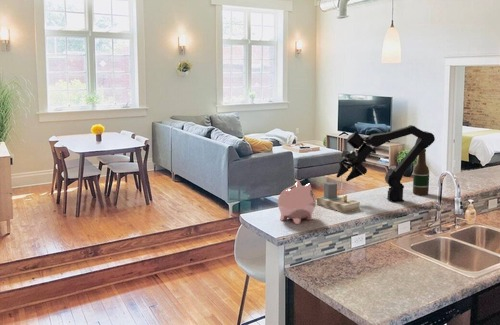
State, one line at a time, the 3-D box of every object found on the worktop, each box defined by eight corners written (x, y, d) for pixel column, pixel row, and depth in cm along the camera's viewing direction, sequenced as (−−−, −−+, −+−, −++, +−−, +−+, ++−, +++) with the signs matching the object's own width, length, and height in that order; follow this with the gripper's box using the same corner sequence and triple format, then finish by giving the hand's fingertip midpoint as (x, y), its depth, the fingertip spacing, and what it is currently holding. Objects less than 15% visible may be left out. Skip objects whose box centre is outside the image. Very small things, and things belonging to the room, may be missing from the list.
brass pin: (346, 201, 226) (346, 195, 225) (347, 202, 224) (347, 196, 224) (343, 201, 225) (343, 195, 225) (344, 202, 224) (344, 196, 223)
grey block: (332, 195, 236) (332, 182, 235) (336, 197, 232) (337, 183, 230) (324, 196, 234) (324, 182, 233) (328, 198, 230) (328, 184, 229)
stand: (359, 209, 224) (359, 201, 224) (344, 212, 219) (344, 205, 218) (331, 201, 240) (331, 194, 239) (316, 204, 235) (316, 197, 234)
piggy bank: (323, 218, 212) (323, 183, 209) (297, 227, 200) (297, 190, 197) (297, 211, 223) (297, 178, 220) (271, 220, 211) (270, 185, 208)
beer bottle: (412, 195, 248) (413, 149, 244) (413, 191, 256) (414, 147, 251) (428, 196, 246) (430, 150, 241) (428, 192, 253) (430, 148, 248)
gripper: (341, 142, 241) (322, 165, 239) (361, 146, 223) (340, 171, 222) (355, 156, 245) (336, 179, 243) (376, 161, 227) (355, 186, 226)
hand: (341, 178), depth 233 cm, fingers open, 9 cm apart
